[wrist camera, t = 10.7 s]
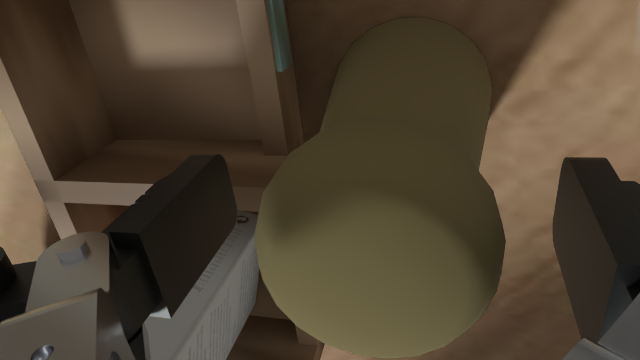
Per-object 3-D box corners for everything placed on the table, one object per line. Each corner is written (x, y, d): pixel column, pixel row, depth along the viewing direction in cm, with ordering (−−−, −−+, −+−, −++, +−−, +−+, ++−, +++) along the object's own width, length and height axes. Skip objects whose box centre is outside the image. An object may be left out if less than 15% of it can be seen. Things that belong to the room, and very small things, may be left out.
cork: (529, 98, 17) (625, 326, 7) (408, 193, 20) (368, 437, 10) (411, -23, 16) (350, 64, 6) (303, 97, 19) (158, 272, 9)
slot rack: (332, 329, 25) (310, 404, 21) (168, 310, 28) (122, 374, 24) (268, -171, 15) (201, -202, 11) (16, -122, 17) (-110, -134, 13)
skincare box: (184, 190, 22) (-45, 421, 12) (268, 214, 21) (102, 478, 11) (184, 281, 25) (4, 525, 15) (257, 304, 25) (121, 573, 14)
